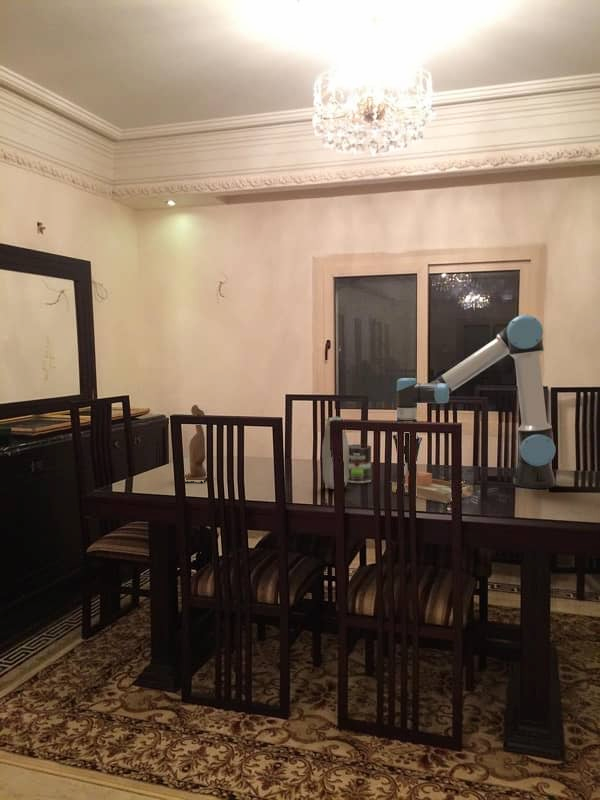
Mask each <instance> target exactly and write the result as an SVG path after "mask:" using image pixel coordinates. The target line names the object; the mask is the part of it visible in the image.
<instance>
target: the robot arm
mask: <svg viewBox="0 0 600 800" xmlns="http://www.w3.org/2000/svg"><path fill="white" fill-rule="evenodd" d="M543 334H544V329H543V325H542V323H541V322H540V321H539V319H537V318H536V317H535V316H532V315H529V314H522V315H518V316H516V317H515V318H513V319H512V320H511V321H510V322H509V323H508V325H507V326H506V327H504V328H503V330H501V331H499V333H497V334H496V337H495V338H494V339H493V340H491V341H490V342H489V343H487V344H485V345H484V346H482V347H481V348H479V349H478V350H477V351H475V352H473V353H472V354H471V355H469V356H468V357H467V358H464V360H462V361H461V362H459V363H458V364H456V365H455V366H454V367H452V368H450V369H449V370H447V371H446V372H445V373H443V374H441V375H440V376H439V377H437V378H436V379H435V380H432V381H431V382H429V383H428V382H427V383H419V382H418V381H417V378H415V377H414V378H413V377H408V378H407V377H402V378H399V379H397V380H396V417H397V420H396V421H413V422H417V423H418V419H417V418H418V409H417V406H418V404H437V405H438V404H446V403H447V404H448V402H449V399H450V393H452V392H454V391H455V390H456V389H458V388H459V387H461V386H462V385H463V384H465V383H467V382H468V381H469V380H471V379H473V378H474V377H476V376H478V375H479V374H480V373H481V372H483V371H485V370H486V369H488V368H489V367H491V366H492V365H495V364H496V363H497V362H499V361H500V360H501V359H503V358H504V357H506V356H507V355H509V356H511V357H512V358H513V360H514V365H515V366H514V368H515V375H516V385H517V392H518V401H519V411H520V420H521V425H520V426H519V427H518V428H517V434H518V457H517V458H518V460H517V462H518V463H517V466H516V470H515V473H514V476H513V478H512V479H513V485H515V486H518V487H521V488H525V489H527V488H528V489H550V488H554V487H555V486H556V478H555V476H554V471H553V469H552V466H551V461H553V459H554V457H555V454H556V450H557V448H556V445H555V443H554V434H553V427H552V424H550V423H549V422H547V421H548V420H547V411H546V403H545V392H544V384H543V383H544V381H543V375H542V374H543V373H542V365H541V364H542V363H541V355H542V354H543V353H544V341H543V340H544V339H543ZM392 439H393V441H394V445H395V450H396V452H397V433H396V434H392ZM422 441H423V437H421V436H418V435H417V439H416V461H417V462H418V456H419V450H420V445H421V442H422ZM404 454H405V466H404V475H405V473H407V472H409V433H405V446H404Z"/></svg>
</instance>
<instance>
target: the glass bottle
mask: <svg viewBox="0 0 600 800" xmlns="http://www.w3.org/2000/svg"><path fill="white" fill-rule="evenodd" d="M333 420H343V421H344V419H343V418H342V417H340V416H332V417H329V418H328V419H327V420H326V422H325V427H324V428H325V429H324V436H323V440H322V441H323V442H322V449H321V450H322V451H321V457H322V458H321V459H322V479H323V482H324V484H325V485H326V488H328V489H330V490H333V462H332V457H331V450H330V422H331V421H333ZM346 431H347V430H346V429H345V430H344V431H343V460H344V482H345V487H346V486H347V484H348V483H349V482H348V479H349V446H348V445H349V441H348V437H347V432H346Z"/></svg>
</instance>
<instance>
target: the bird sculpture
mask: <svg viewBox="0 0 600 800" xmlns="http://www.w3.org/2000/svg"><path fill="white" fill-rule="evenodd" d="M190 412H191V415H192V416H193V415H197V416H206V415H205V412H204V411H203V410H202V409H200V408H199V406H198V405H197V404H194V405H192V407H191V410H190ZM195 430H196V433H195V434H194V435H193V437H192V438H191V440H190V442H189V447H188V448H189V471H190V472H189V473H187V474H184V476H185V478H186V480H205V481H206V480H207V478H206V474H207V471H206V469H205V466H204V462H205V461H206V438H205V431H204V428H203V426H202V424H201V425H195Z"/></svg>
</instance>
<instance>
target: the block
mask: <svg viewBox="0 0 600 800" xmlns="http://www.w3.org/2000/svg"><path fill="white" fill-rule="evenodd" d="M408 476H409V472H407V473H405V479H404V482H405V483H407V484H408ZM432 479H433V473H432V472H425V471H420V470H417V486H426V485H430V484H432Z"/></svg>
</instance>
